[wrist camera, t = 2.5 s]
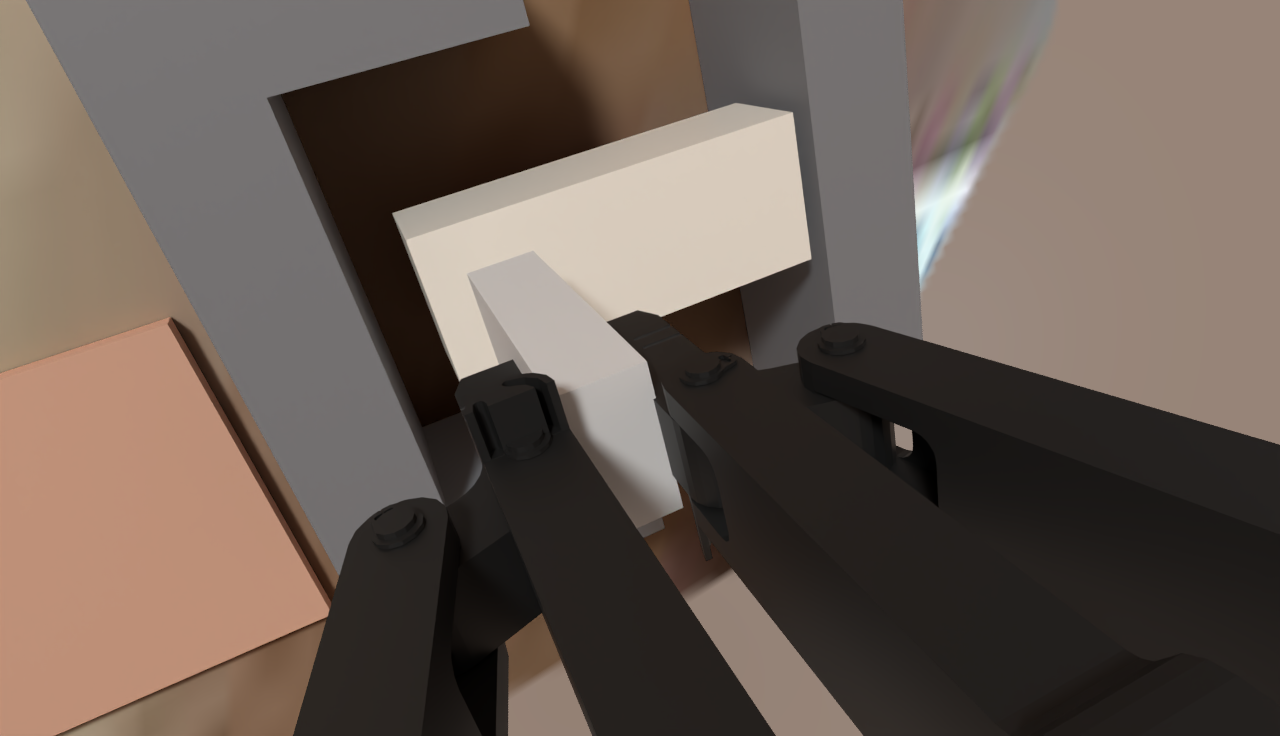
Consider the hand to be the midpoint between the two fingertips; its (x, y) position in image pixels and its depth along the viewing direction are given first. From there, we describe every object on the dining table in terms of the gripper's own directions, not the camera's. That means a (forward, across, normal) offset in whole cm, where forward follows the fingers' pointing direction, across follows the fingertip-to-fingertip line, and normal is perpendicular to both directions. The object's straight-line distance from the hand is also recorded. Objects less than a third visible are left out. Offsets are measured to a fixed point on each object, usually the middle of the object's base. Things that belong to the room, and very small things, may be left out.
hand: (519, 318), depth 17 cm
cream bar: (+5, +3, 0) cm, 6 cm away
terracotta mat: (+8, -14, -5) cm, 16 cm away
